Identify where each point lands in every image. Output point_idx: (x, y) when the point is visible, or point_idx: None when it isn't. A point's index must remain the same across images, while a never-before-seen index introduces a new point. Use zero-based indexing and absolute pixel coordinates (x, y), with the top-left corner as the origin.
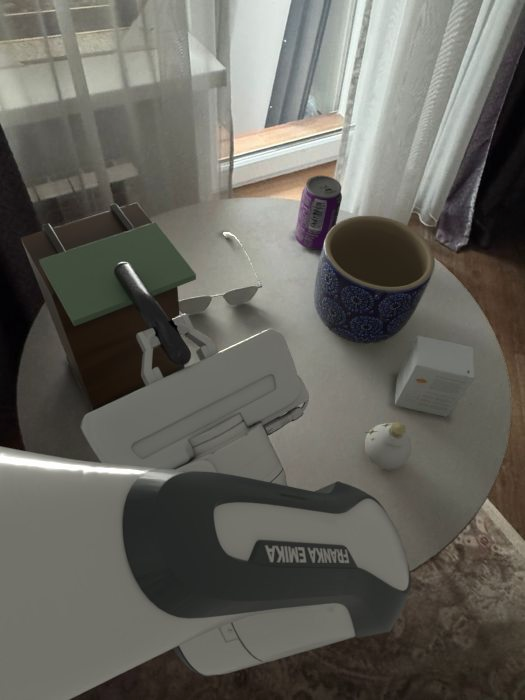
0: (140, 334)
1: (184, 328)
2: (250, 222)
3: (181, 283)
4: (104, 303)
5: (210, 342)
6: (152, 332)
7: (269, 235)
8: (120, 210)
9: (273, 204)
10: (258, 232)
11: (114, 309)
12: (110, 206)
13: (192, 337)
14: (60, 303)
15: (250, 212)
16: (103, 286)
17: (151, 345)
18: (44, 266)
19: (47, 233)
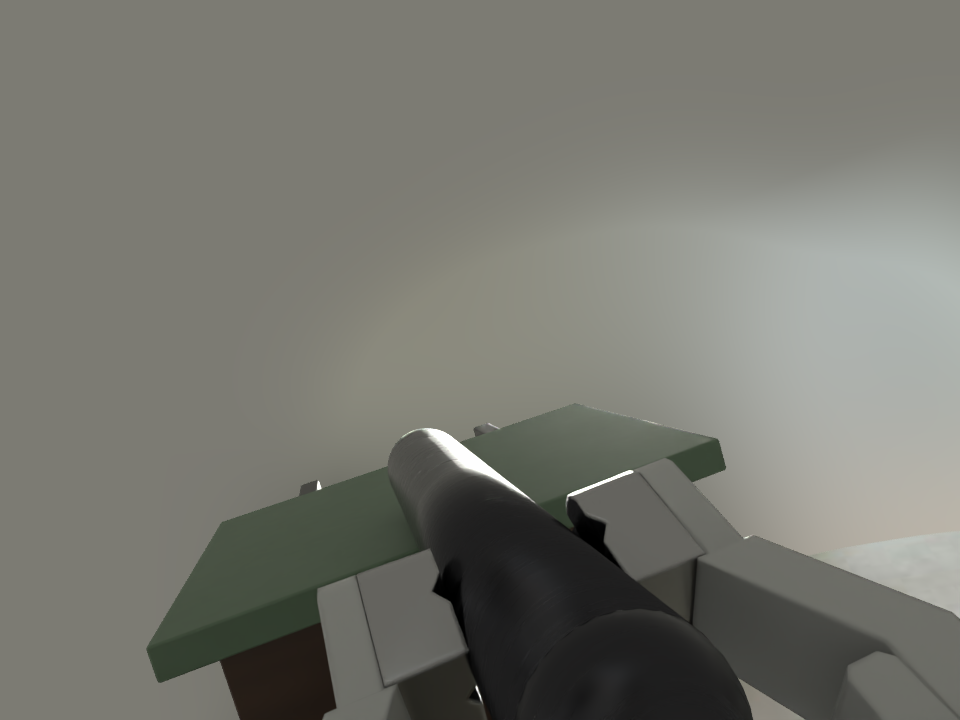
0: (331, 589)
1: (659, 532)
2: (883, 576)
3: None
4: (316, 574)
5: (930, 624)
6: (416, 570)
7: (950, 593)
8: (495, 427)
9: (926, 536)
10: (915, 592)
11: None
12: (474, 430)
13: (744, 614)
14: (240, 657)
15: (874, 559)
16: (348, 533)
17: (390, 665)
18: (220, 530)
19: (300, 493)
